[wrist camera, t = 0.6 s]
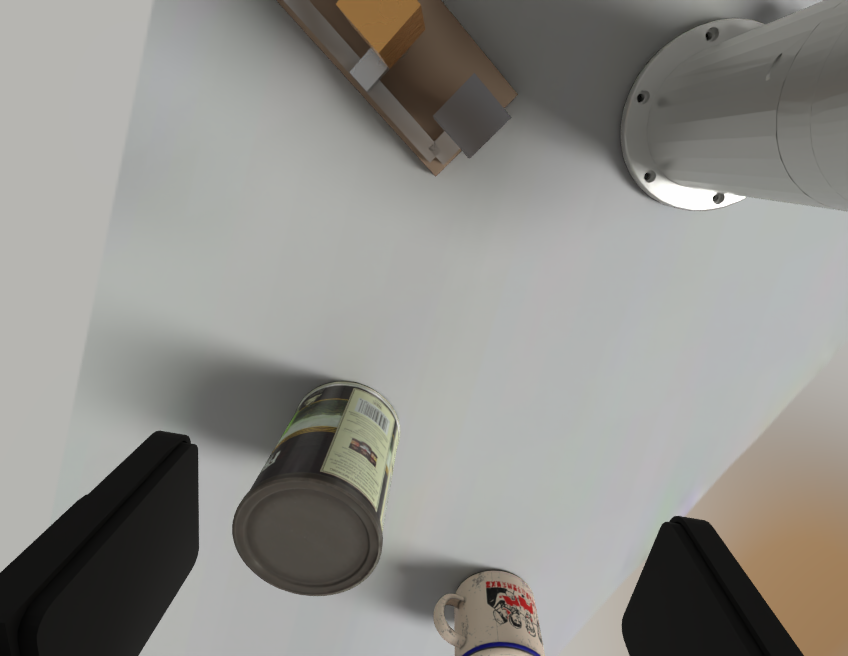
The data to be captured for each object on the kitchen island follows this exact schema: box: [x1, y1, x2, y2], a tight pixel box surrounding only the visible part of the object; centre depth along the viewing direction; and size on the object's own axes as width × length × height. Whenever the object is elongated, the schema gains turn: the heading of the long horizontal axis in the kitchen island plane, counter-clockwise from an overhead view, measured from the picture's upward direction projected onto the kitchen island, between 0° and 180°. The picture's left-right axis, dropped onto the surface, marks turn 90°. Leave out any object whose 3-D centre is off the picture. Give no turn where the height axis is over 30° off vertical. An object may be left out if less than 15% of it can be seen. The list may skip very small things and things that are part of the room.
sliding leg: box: [336, 0, 426, 93], centre depth 28 cm, size 5×3×10 cm, turn 134°
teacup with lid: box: [434, 571, 545, 656], centre depth 46 cm, size 12×9×12 cm
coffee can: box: [232, 382, 400, 596], centre depth 39 cm, size 10×10×14 cm
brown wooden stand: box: [276, 0, 518, 176], centre depth 29 cm, size 8×20×11 cm, turn 44°
